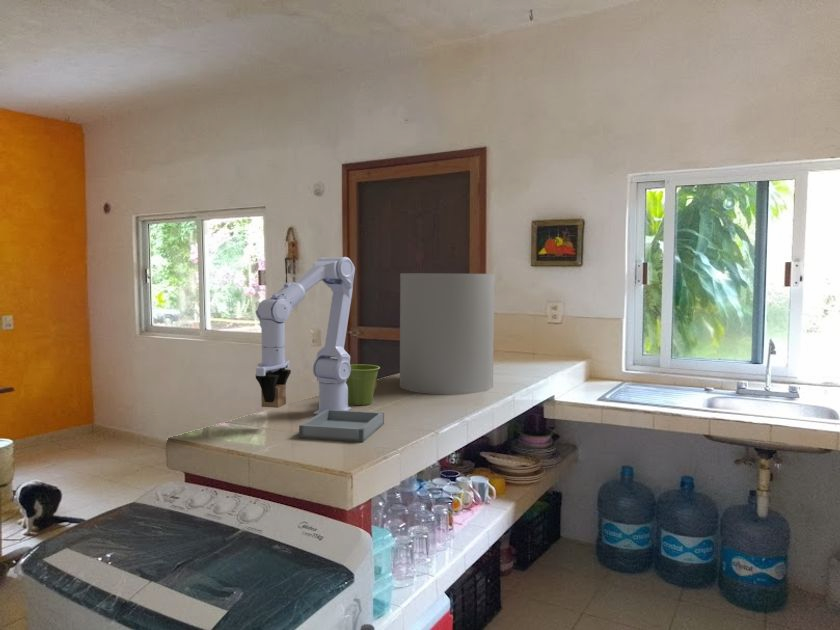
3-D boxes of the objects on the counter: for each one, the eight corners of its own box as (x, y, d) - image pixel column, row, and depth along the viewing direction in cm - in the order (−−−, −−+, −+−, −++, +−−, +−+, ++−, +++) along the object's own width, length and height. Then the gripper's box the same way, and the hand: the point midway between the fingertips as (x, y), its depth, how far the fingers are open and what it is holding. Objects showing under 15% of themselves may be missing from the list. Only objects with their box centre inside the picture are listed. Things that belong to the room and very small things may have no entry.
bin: (326, 420, 161) (326, 409, 161) (384, 423, 157) (384, 412, 157) (299, 437, 143) (299, 425, 143) (362, 442, 140) (362, 429, 140)
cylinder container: (472, 398, 192) (473, 273, 190) (382, 389, 206) (383, 273, 204) (504, 381, 223) (506, 274, 220) (424, 374, 237) (425, 273, 234)
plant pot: (373, 408, 176) (374, 370, 175) (335, 406, 178) (335, 369, 177) (384, 400, 187) (384, 364, 187) (348, 398, 190) (348, 363, 189)
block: (269, 403, 155) (269, 384, 154) (285, 404, 154) (285, 384, 153) (261, 406, 150) (261, 387, 150) (278, 407, 149) (277, 387, 149)
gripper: (271, 343, 159) (272, 393, 160) (244, 349, 145) (245, 404, 146) (296, 343, 157) (296, 394, 158) (271, 350, 143) (271, 406, 144)
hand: (273, 399), depth 152 cm, fingers closed on block, 4 cm apart
